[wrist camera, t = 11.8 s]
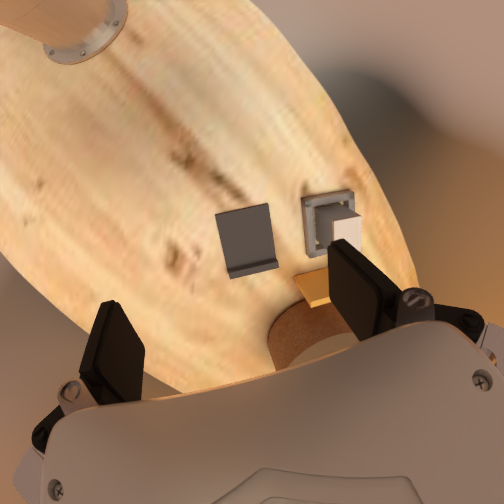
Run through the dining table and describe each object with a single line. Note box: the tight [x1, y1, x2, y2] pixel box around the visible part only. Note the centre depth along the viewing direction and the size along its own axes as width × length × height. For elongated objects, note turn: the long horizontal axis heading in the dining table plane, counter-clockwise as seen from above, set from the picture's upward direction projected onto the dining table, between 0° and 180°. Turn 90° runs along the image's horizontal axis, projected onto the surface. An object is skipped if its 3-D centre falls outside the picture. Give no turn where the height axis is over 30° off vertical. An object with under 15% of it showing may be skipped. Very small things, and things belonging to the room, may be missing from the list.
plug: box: [315, 203, 362, 252], centre depth 36 cm, size 5×4×6 cm
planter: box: [268, 301, 360, 371], centre depth 41 cm, size 16×16×14 cm
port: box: [294, 190, 355, 308], centre depth 36 cm, size 13×12×7 cm
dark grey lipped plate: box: [215, 203, 279, 279], centre depth 37 cm, size 9×7×2 cm
